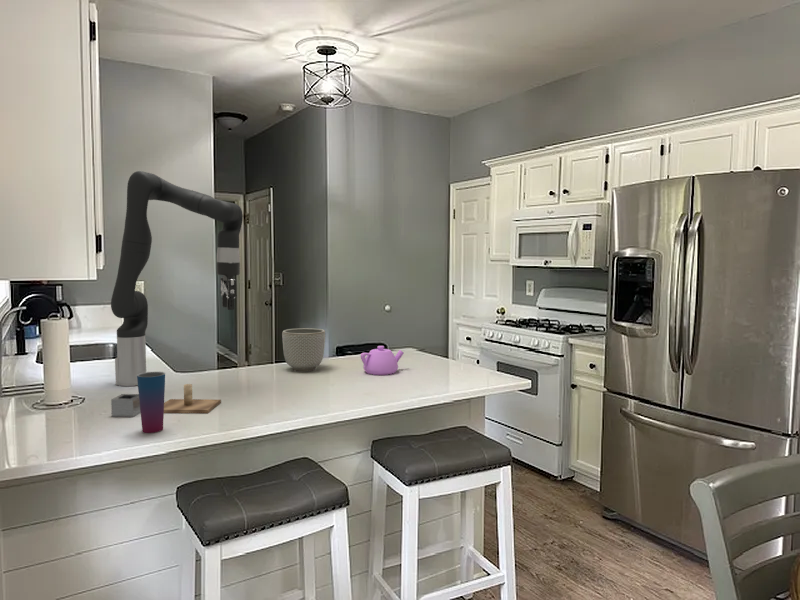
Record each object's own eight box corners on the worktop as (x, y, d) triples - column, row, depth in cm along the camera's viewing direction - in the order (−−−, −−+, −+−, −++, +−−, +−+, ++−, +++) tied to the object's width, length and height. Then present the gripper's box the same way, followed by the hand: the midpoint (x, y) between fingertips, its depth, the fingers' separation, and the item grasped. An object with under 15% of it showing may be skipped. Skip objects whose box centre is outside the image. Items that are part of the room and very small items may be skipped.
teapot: (412, 372, 224) (412, 346, 223) (369, 378, 213) (369, 350, 212) (393, 366, 236) (393, 341, 235) (352, 371, 224) (352, 345, 224)
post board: (153, 412, 164) (152, 389, 163) (170, 402, 176) (169, 380, 175) (207, 413, 164) (207, 389, 163) (221, 402, 176) (220, 380, 175)
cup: (144, 426, 151) (142, 371, 150) (170, 425, 151) (168, 371, 150) (134, 434, 144) (132, 377, 143) (161, 433, 145) (160, 376, 144)
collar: (111, 416, 160) (111, 399, 159) (122, 410, 166) (122, 394, 166) (133, 416, 160) (132, 399, 159) (143, 410, 166) (142, 394, 166)
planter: (273, 370, 226) (273, 330, 225) (306, 364, 240) (306, 326, 238) (301, 376, 215) (300, 335, 214) (334, 369, 228) (334, 330, 227)
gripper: (213, 260, 195) (212, 306, 197) (221, 261, 183) (220, 310, 184) (234, 260, 199) (234, 306, 200) (244, 262, 186) (243, 310, 188)
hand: (228, 308), depth 192 cm, fingers open, 8 cm apart
